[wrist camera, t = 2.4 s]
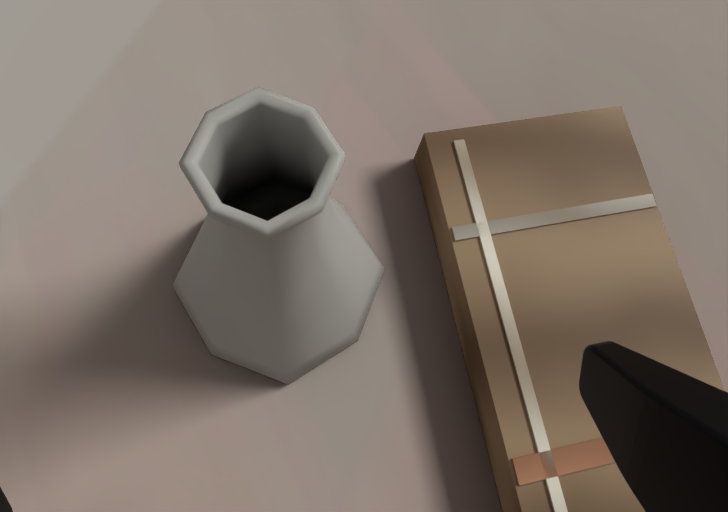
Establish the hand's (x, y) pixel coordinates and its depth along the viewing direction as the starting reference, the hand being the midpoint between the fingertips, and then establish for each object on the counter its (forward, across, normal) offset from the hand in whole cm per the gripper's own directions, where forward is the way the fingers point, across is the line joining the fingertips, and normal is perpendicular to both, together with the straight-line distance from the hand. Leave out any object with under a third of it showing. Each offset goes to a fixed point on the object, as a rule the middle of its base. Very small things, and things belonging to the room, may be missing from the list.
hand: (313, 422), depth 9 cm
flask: (+12, 0, +5) cm, 13 cm away
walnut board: (+8, -10, +8) cm, 15 cm away
